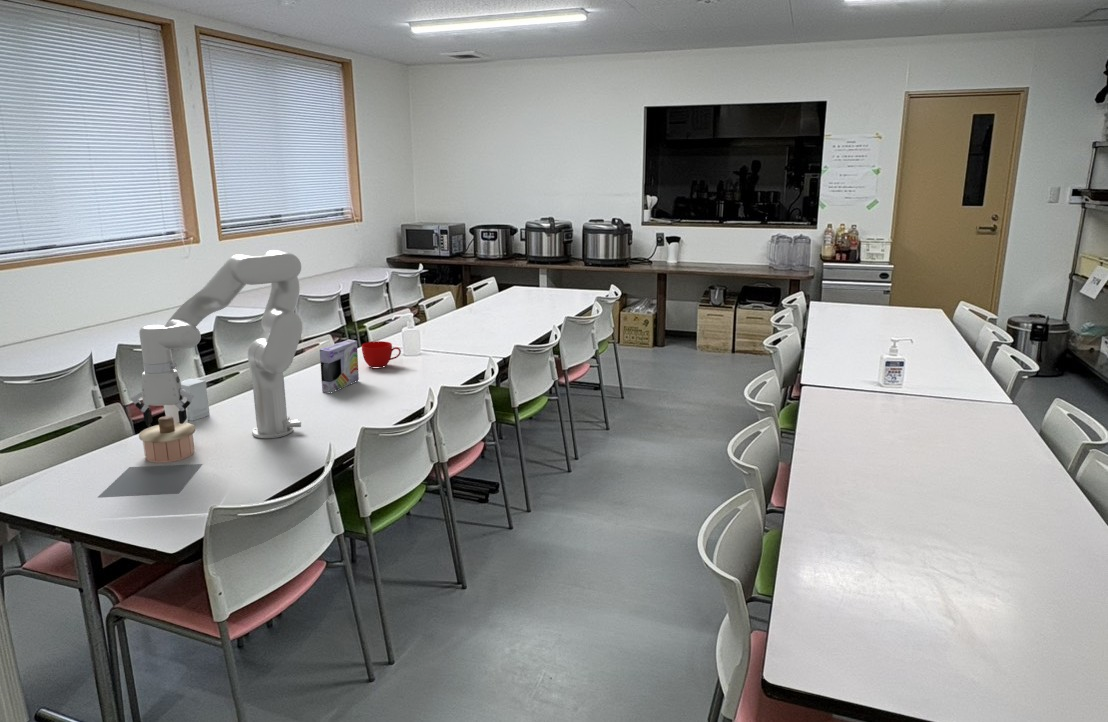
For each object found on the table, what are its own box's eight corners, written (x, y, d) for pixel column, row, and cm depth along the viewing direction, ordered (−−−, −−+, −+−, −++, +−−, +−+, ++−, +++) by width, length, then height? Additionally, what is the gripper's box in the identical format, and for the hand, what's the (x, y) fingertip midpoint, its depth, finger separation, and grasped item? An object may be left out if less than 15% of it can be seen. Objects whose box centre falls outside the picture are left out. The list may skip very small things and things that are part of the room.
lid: (202, 424, 224) (200, 409, 222) (186, 441, 209) (184, 425, 208) (150, 425, 221) (148, 411, 220) (130, 443, 207) (128, 428, 206)
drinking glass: (181, 440, 229) (175, 395, 225) (162, 438, 230) (157, 393, 227) (195, 433, 236) (190, 389, 232) (177, 431, 237) (172, 387, 233)
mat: (202, 465, 210) (202, 463, 210) (178, 494, 191) (178, 493, 191) (129, 468, 207) (129, 467, 207) (97, 498, 188) (97, 497, 188)
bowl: (200, 446, 224) (197, 425, 222) (185, 462, 212) (183, 440, 210) (155, 448, 222) (152, 426, 221) (138, 464, 210) (135, 442, 208)
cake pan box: (330, 394, 278) (326, 350, 273) (319, 393, 279) (316, 349, 275) (360, 381, 295) (358, 339, 290) (350, 380, 297) (347, 338, 292)
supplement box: (210, 414, 253) (206, 380, 250) (192, 421, 247) (188, 386, 243) (195, 411, 256) (191, 377, 253) (177, 417, 250) (173, 383, 246)
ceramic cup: (398, 370, 312) (397, 348, 309) (359, 370, 312) (358, 347, 309) (404, 363, 324) (403, 341, 322) (367, 362, 324) (366, 341, 322)
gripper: (194, 363, 215) (200, 417, 219) (132, 364, 212) (140, 419, 217) (185, 370, 208) (192, 426, 212) (121, 371, 205) (129, 428, 210)
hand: (166, 422), depth 214 cm, fingers open, 9 cm apart
